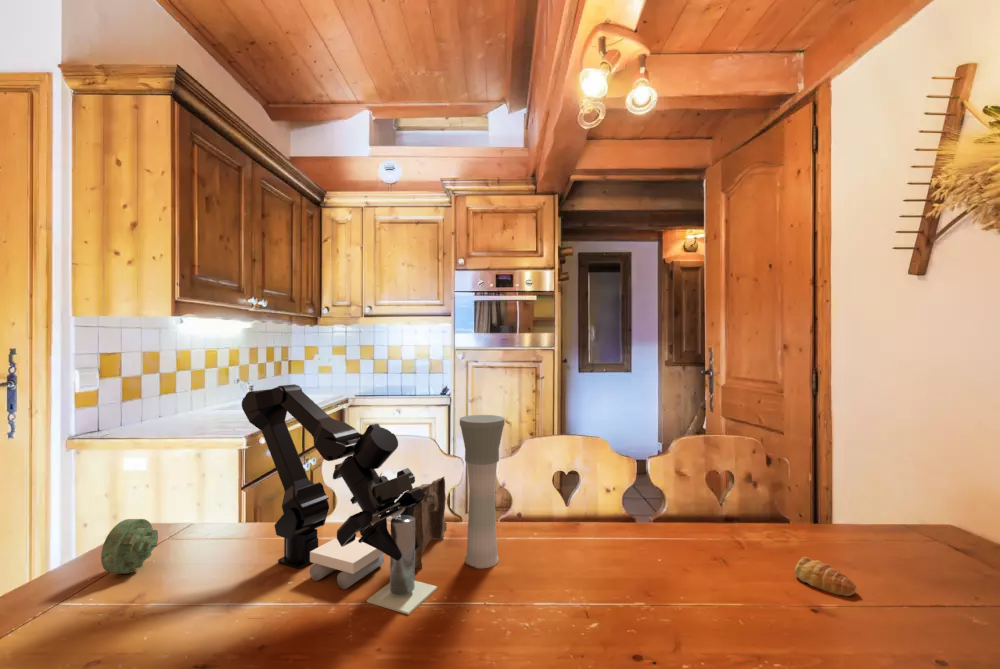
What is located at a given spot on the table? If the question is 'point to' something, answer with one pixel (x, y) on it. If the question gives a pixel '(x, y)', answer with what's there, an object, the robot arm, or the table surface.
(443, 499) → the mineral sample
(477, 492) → the container
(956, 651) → the table surface
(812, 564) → the pastry
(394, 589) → the silver metal cylinder
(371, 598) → the mat
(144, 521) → the decorative artifact
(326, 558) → the slab on rollers
